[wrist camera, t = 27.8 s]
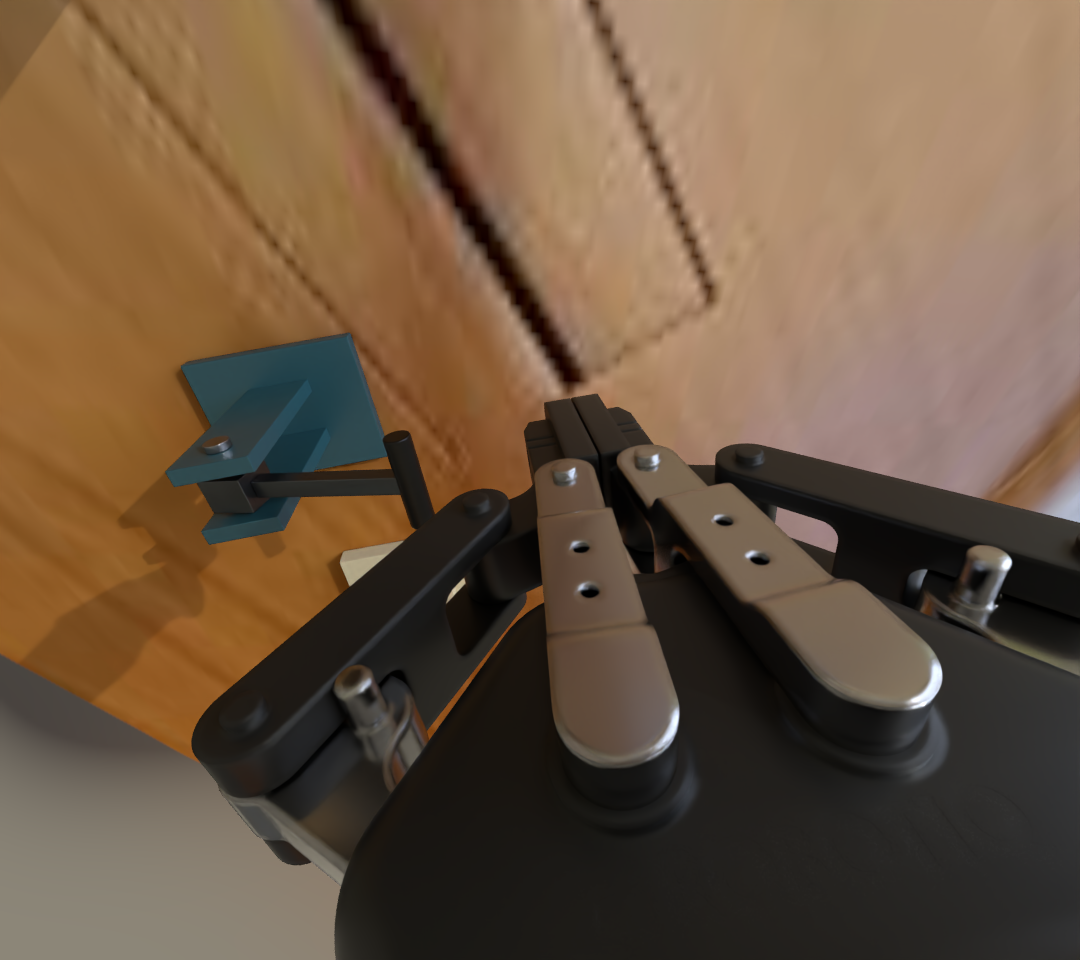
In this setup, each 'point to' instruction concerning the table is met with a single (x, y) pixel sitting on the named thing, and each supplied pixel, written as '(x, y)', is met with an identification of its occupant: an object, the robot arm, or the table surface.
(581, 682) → the robot arm
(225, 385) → the bracket
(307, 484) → the lever
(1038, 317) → the table surface
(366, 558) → the button block
